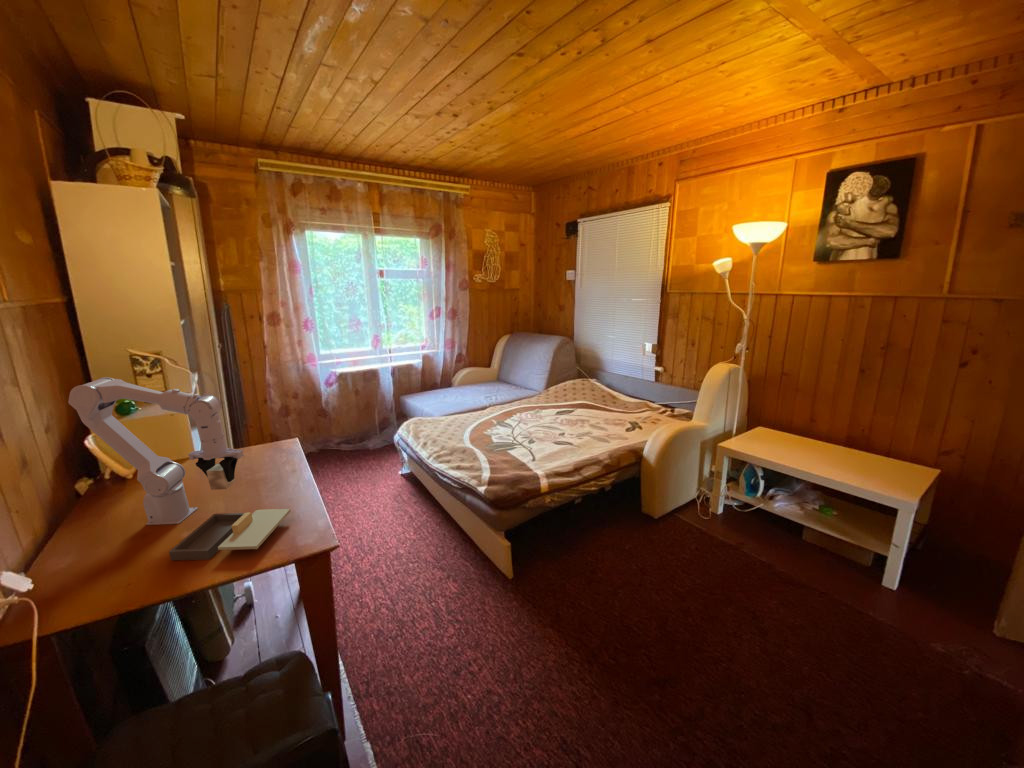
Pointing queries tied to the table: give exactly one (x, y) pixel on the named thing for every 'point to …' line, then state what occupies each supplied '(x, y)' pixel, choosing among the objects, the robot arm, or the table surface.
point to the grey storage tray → (205, 538)
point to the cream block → (218, 478)
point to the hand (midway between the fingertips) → (222, 480)
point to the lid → (253, 529)
